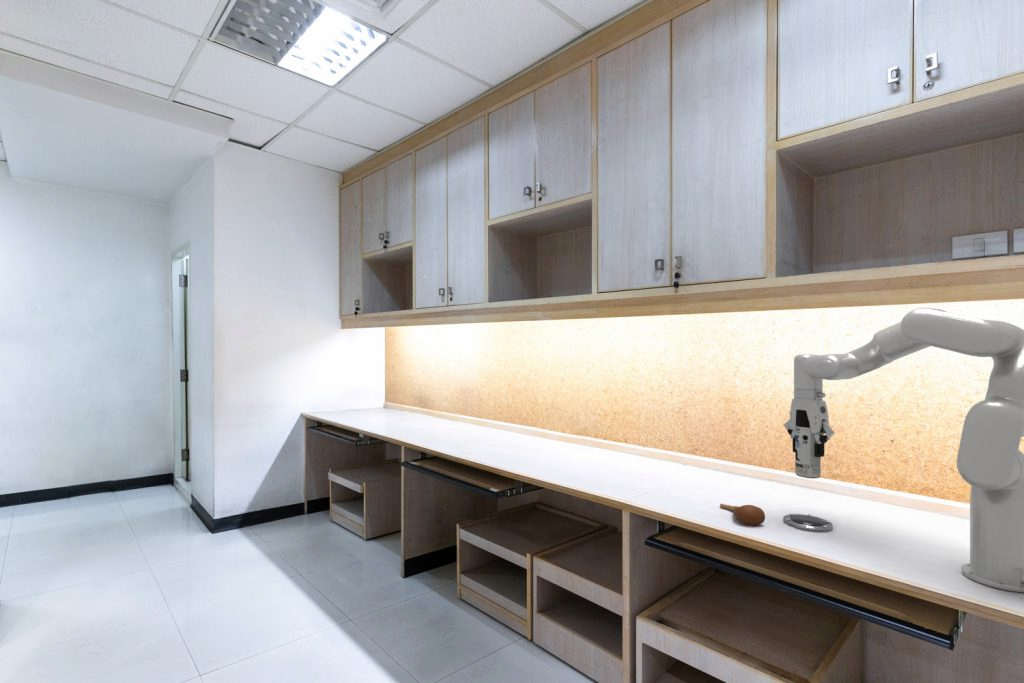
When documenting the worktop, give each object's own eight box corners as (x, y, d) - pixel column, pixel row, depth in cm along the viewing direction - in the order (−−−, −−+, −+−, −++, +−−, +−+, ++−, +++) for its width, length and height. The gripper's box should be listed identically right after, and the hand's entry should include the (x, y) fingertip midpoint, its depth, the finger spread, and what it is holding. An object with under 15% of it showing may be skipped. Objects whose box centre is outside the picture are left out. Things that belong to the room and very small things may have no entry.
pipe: (726, 507, 170) (727, 489, 170) (767, 527, 151) (767, 507, 151) (707, 509, 168) (707, 490, 168) (745, 529, 149) (745, 509, 149)
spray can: (793, 472, 158) (793, 407, 158) (818, 474, 155) (818, 409, 155) (797, 477, 151) (797, 410, 152) (823, 479, 149) (823, 411, 149)
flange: (843, 529, 150) (843, 524, 150) (812, 534, 145) (812, 529, 145) (803, 515, 162) (803, 510, 162) (773, 520, 157) (773, 515, 157)
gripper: (844, 397, 147) (844, 459, 147) (791, 392, 163) (791, 448, 163) (826, 398, 144) (826, 461, 144) (774, 393, 160) (774, 449, 160)
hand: (808, 453), depth 153 cm, fingers closed on spray can, 6 cm apart
